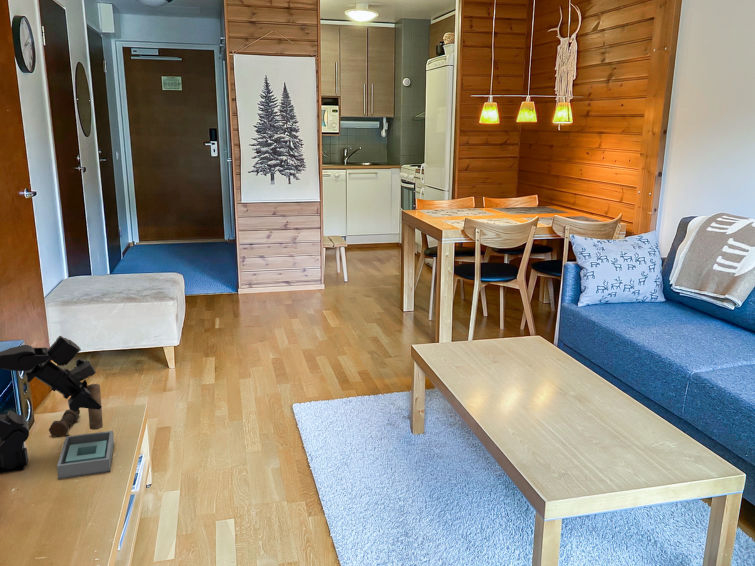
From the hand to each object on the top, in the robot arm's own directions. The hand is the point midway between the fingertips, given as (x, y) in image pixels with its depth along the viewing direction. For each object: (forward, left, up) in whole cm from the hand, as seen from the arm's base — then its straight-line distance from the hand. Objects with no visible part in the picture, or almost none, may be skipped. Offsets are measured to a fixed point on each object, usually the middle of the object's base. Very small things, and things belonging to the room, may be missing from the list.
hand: (99, 405), depth 183 cm
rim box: (-4, -7, -13) cm, 16 cm away
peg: (-1, 0, -7) cm, 7 cm away
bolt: (-12, +18, -14) cm, 26 cm away
